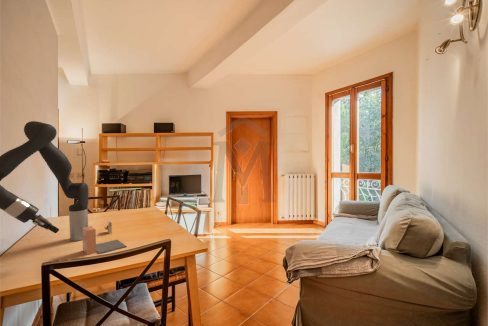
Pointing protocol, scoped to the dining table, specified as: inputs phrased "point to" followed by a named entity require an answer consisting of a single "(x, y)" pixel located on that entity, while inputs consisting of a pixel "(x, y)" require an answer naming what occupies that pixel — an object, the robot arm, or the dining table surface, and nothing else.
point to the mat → (109, 246)
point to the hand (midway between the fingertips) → (57, 231)
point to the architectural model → (109, 227)
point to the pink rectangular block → (89, 240)
